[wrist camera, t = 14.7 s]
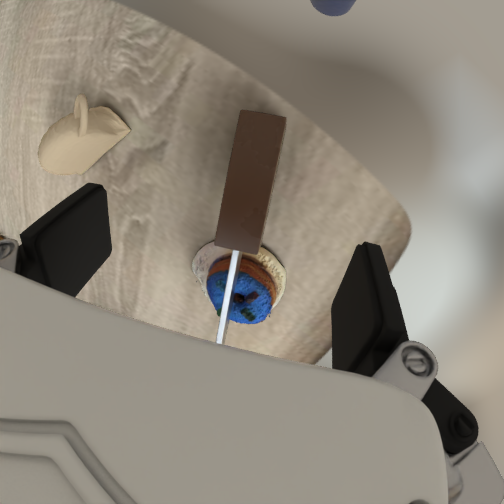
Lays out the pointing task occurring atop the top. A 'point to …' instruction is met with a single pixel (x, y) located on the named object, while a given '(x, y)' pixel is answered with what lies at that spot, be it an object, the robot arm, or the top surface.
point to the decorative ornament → (80, 139)
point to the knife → (247, 195)
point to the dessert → (241, 282)
